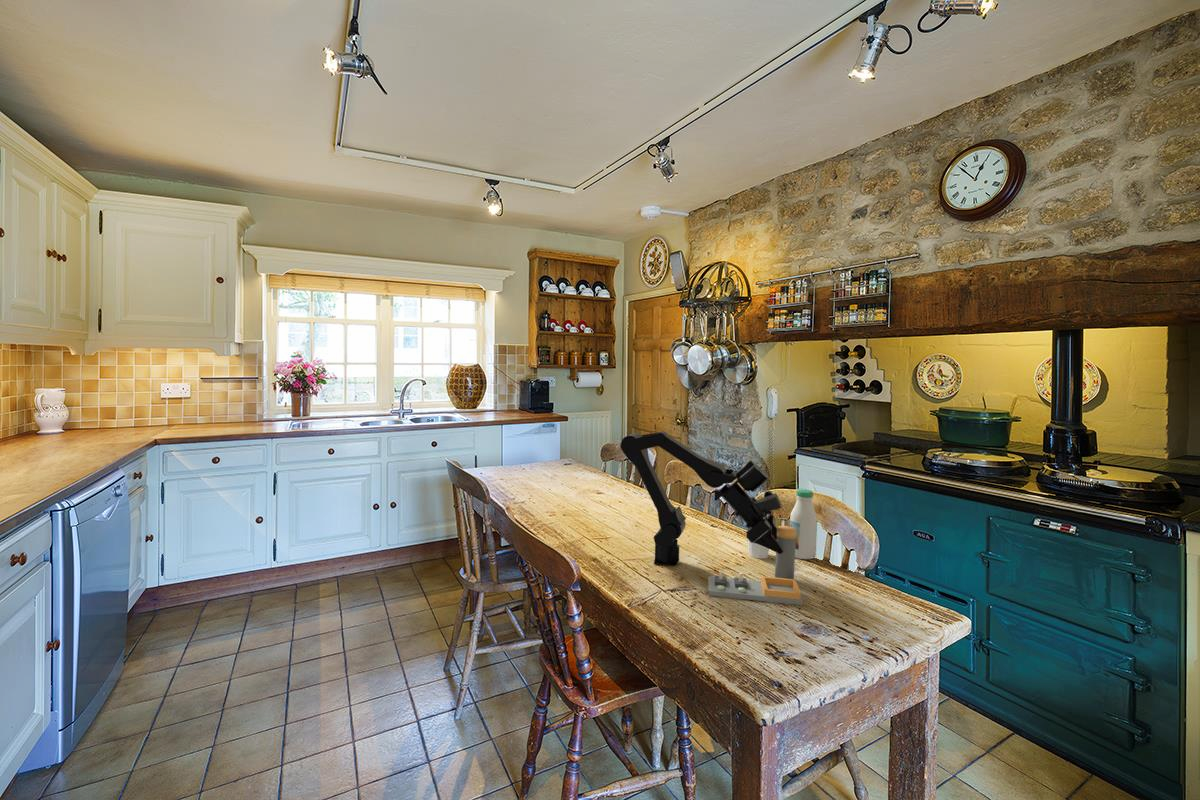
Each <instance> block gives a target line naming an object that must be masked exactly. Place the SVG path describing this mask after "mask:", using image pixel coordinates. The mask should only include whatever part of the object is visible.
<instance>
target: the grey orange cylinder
mask: <svg viewBox="0 0 1200 800" xmlns="http://www.w3.org/2000/svg"><path fill="white" fill-rule="evenodd" d="M776 527H777V540H776V541H777V542H778V544H779V545H780V547H781V548H782V550H783V553H781V554H779V553H777V552H775V563H774V564H775V566H774V567H775V569H774V570H775V572H774V577H776V578H786V579H794V580H795V564H796V563H795V561H796V558H795V545H796V529H795V528H793V527H790V525H779V526H776Z"/></svg>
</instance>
